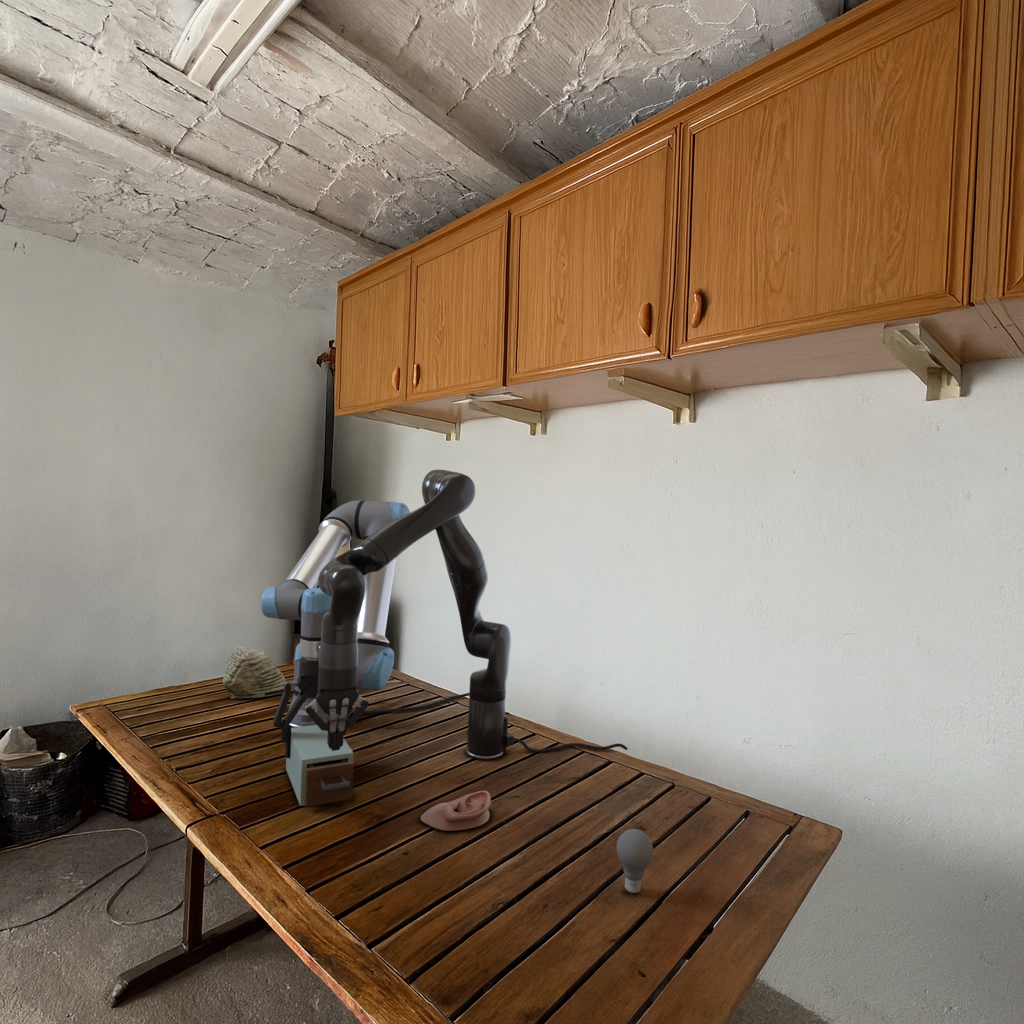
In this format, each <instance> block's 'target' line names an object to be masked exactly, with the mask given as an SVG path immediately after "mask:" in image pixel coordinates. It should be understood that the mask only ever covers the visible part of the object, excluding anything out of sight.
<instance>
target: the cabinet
mask: <svg viewBox="0 0 1024 1024" xmlns="http://www.w3.org/2000/svg"><path fill="white" fill-rule="evenodd" d="M327 737H328V731H322V730H321V729H320V728H319V727H318V725H311V726H303V727H295V728H291V750H290V758H286V757H285V758H286V760H285V761H286V762H285V764H286V765H285V770H286V774H287V776H288V778H289V780H290V782H291V786H292V789H293V791H294V794H295V796H296V799H297V801H298V805H299V806H300V807H302V806H303V807H304V806H305V791H306V768H307V764H313V763H319V762H326V761H332V760H339V759H345V760H346V762H350V761H353V762H354V750H352V748H351V747H350V746H349V743H348V742H347V741H346V738H344V737H343V745H342V747H340V750H335V751H332V750H331V748H329V746H328V744H327V739H328V738H327Z"/></svg>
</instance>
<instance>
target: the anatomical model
mask: <svg viewBox="0 0 1024 1024" xmlns="http://www.w3.org/2000/svg"><path fill="white" fill-rule="evenodd" d="M491 799H492V798H491V793H490V792H489V791H488V790H478V791H475V792H472V793H468V794H465V795H463V796H461V797H459V798H457V799H455V800H451V801H449V802H441V803H438V804H436V805H434V806H432V807H430V808H429V809H427V810H426V811H425V812H424V813H423V814H421V816H420V817H419V818H420V821H421V822H423V823H424V824H426V825H428V826H429V827H431V828H434V829H437V830H440V831H443V832H445V831H446V832H449V831H450V832H452V831H464V830H469V829H474V828H477V827H480V826H482V825H485V824H486V823H487V822H488V821H489V820H490V810H489V809H490V807H491V803H492V801H491Z"/></svg>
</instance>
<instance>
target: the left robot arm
mask: <svg viewBox="0 0 1024 1024" xmlns="http://www.w3.org/2000/svg"><path fill="white" fill-rule="evenodd" d="M410 512H411V511H410V509H409V507H408V505H407V504H405V503H404V502H396V501H392V500H391V501H382V500H380V501H379V500H363V499H361V500H359V499H357V500H351V501H348V502H346V503H343V504H341V505H340V506H338V507H336V508H335V509H334V510H332V511H331V512H330V513H328V514H327V516H325V517H324V519H323V520H322V521H321V522H320V524H319V526H318V533H317V535H316V536H315V538H314V539H313V541H312V542H311V543H310V544H309V546H308V548H307V549H306V551H305V552H304V553H303V554H302V556H301V557H300V558H299V561H298V562H297V563H296V565H295V566H294V567H293V569H292V570H291V572H289V574H288V576H287V578H286V579H285V580H284V582H282V584H281V586H280V587H277V586H274V587H269V588H266V589H265V590H264V591H263V593H262V596H261V599H260V610H261V612H262V614H263V616H264V617H266V618H268V619H269V618H270V619H276V620H288V621H300V641H299V643H298V644H297V645H296V647H295V652H294V653H295V654H294V659H293V661H294V672H293V681H289V680H286V681H285V682H284V692H283V693H281V694H282V695H281V697H280V700H279V703H278V705H277V708H276V710H275V714H274V716H273V719H272V725H273V727H274V728H280V740H281V743H282V744H284V756H285V758H290V750H291V728H295V727H303V726H311V725H317V724H316V723H315V722H314V721H313V720H312V718H311V717H310V716H309V715H308V714H307V713H306V711H305V709H304V705H305V704H310V703H311V702H312V701H313V700H314V699H315V695H316V693H317V691H318V673H319V662H318V659H319V651H320V646H321V629H322V619H323V615H324V614H325V613H326V612H327V611H330V607H331V601H332V596H329V595H327V594H325V593H324V592H322V591H321V589H320V588H319V587H318V586H319V585H318V577H319V574H320V572H321V570H322V569H323V567H324V566H325V565H326V564H327V563H329V562H330V561H331V560H333V559H334V558H336V557H337V556H338V554H339V553H340V551H341V549H342V548H344V547H345V546H348V545H349V543H350V542H351V541H353V540H362V542H363V541H364V540H365V539H366V538H367V537H369V536H370V535H371V534H372V533H374V532H375V531H376V530H378V529H379V528H380V527H382V526H383V525H385V524H386V523H388V522H390V521H392V520H394V519H396V518H399V517H401V516H404V515H406V514H408V513H410ZM396 561H397V557H396V558H395V559H394V560H393V561H392V562H390V563H389V564H388V565H387V566H386V567H384V568H383V569H382V570H380V571H378V572H371V573H368V574H366V575H365V576H364V577H365V582H366V590H365V596H364V600H363V604H362V608H361V612H360V615H359V618H358V638H357V644H358V670H357V690H358V691H364V692H368V691H370V692H371V691H373V692H377V691H381V690H382V689H383V688H384V687H385V686H386V685H387V684H388V682H389V680H390V678H391V675H392V673H393V670H394V664H395V652H394V650H393V649H392V648H391V647H390V641H389V639H388V638H387V637H386V632H387V631H386V630H387V623H388V617H389V610H390V603H391V597H392V590H393V582H394V575H395V570H396V569H395V568H396ZM292 692H293V695H292ZM291 695H292V696H293V697H292V699H291V702H290V704H289V708H288V711H287V713H286V709H287V707H288V703H289V701H290V698H291ZM465 697H469V692H466V693H462V694H456V695H451V696H449V697H445V698H443V699H440V700H437V701H433V702H431V703H428V704H427V703H426V704H423V705H419V706H412V707H410V706H409V707H399V708H388V709H377V710H365V711H364V712H363V713H362V715H374V714H375V715H376V714H387V713H398V712H411V711H417V710H418V711H419V710H424V709H428V708H431V707H434V706H437V705H440V704H443V703H446V702H448V701H451V700H454V699H460V698H465ZM317 708H318V712H317V714H318V715H319V716H320V718H321V719H322V720H323V721H324V722H327V716H326V713H325V712H324V711H323V710H322V708H321V707H320V706H319V704H318V705H317ZM353 709H354V707H353V706H352V707H351V708H350V710H349V711H348V712H347V716H348V715H349V714H350V712H351V711H352V710H353ZM285 713H286V714H285ZM284 714H285V716H284ZM336 720H337V714H336ZM346 733H347V728H346V729H345V730H344V734H343V736H344V735H346Z"/></svg>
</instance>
